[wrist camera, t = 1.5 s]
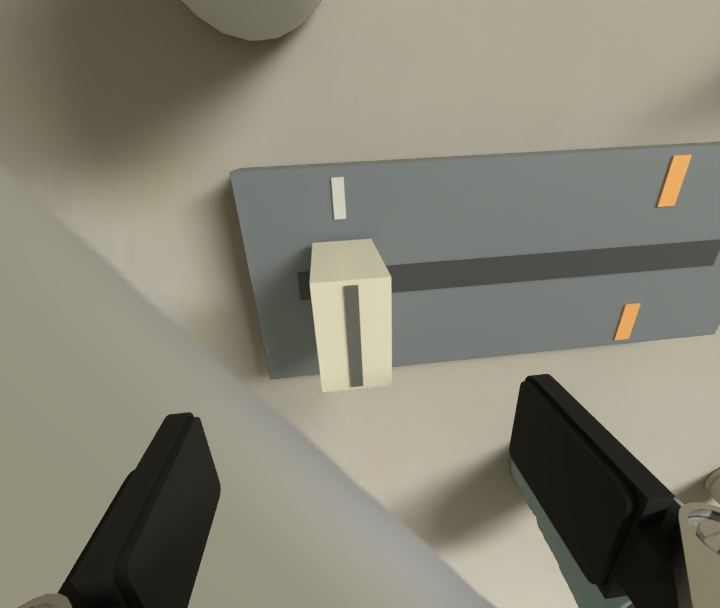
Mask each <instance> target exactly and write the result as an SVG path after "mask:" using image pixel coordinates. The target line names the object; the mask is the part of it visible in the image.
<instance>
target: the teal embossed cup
mask: <svg viewBox="0 0 720 608" xmlns="http://www.w3.org/2000/svg"><path fill="white" fill-rule="evenodd" d="M510 462H511V463H510V465H511V472H512V475H513V478H514V480H515V482H516V484H517V485H518V487H519V489H520V490H521V493H522V495H523V496H524V498H525V500H526V502H527V504H528V506H529V508H530V509H531V510H532V511H533V514H534V515H535V516H536V518H537V524H538V527H539V529H540V530H541V532H542V534H543V536H544V539H545V540H546V542H547V544H548V545H549V547H550V549H551V551H552V552H553V554H554V556H555V558H556V560H557V562H558V564H559V568H560V571H561V573H562V575H563V577H564V578H565V580H566V582H567V584H568V586H569V588H570V590H571V592H572V594H573V596H574V599H575V601H576V603H577V605H578V607H579V608H635V606H634V605H633V604H632V602H631V601H630V599H629V598H628V596H622V597H616V598H610V599H605V598H604V596H603V595H602V593H601V592H600V590H599V589H598V587H597V586H596V584H592V583H590V582H589V581H588V580H587V579H586V577H585V576H584V574H583V573H582V571H581V569H580V568H579V566H578V565H577V563H576V561H575V560H574V558H573V557H572V555H571V553H570V552H569V550H568V549H567V547H566V545H565V544H564V542H563V541H562V539H561V537H560V536H559V534H558V532H557V531H556V529H555V528H554V526H553V524H552V523H551V521H550V520H549V518H548V516H547V515H546V513H545V512H544V510H543V508H542V507H541V505H540V504H539V502H538V500H537V499H536V497H535V496H534V494H533V492H532V491H531V489H530V488H529V486H528V484H527V483H526V481H525V480H524V478H523V476H522V475H521V473H520V472H519V470H518V468H517V467H516V465H515V463H514V462H513V460H512V458H511V460H510ZM674 500H675V501H676V502H677V503H678V504H680V505H681V506H683V505H684V504H683V503H682V502H681V501H679V500H678V499H677V498H675V497H674Z"/></svg>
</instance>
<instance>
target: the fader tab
mask: <svg viewBox="0 0 720 608" xmlns="http://www.w3.org/2000/svg"><path fill="white" fill-rule="evenodd" d="M310 292H311V300H312V309H313V317H314V326H315V334H316V343H317V351H318V360H319V368H320V377H321V385H322V393H323V392H332V391H342V390H351V389H361V388H370V387H380V386H389V385H392V290H391V275H390V273H389V271H388V269H387V268H386V266H385V264H384V262H383V260H382V258H381V256H380V254H379V252H378V250H377V248H376V247H375V245H374V243H373V241H372V239H359V240H345V241H331V242H317V243H312V256H311V270H310Z"/></svg>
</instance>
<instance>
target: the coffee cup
mask: <svg viewBox="0 0 720 608" xmlns="http://www.w3.org/2000/svg"><path fill="white" fill-rule="evenodd" d="M705 489H706V490H707V491H708V492H709V493H710V494H711V496H712V497H713V498H714V499H715V500H716V501H717V502H718V503H719V504H720V468H719V469H717V470H716V471H714V472H713V473H712V474H711V475H710V476H709V477H708V479H707V480H706V482H705Z"/></svg>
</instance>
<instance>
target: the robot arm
mask: <svg viewBox="0 0 720 608" xmlns="http://www.w3.org/2000/svg"><path fill="white" fill-rule="evenodd" d="M509 450H510V455H511V458H512V460H513V462H514V463H515V465H516V467H517V468H518V470H519V472H520V473H521V475H522V476H523V478H524V480H525V481H526V483H527V484H528V486H529V488H530V489H531V491H532V492H533V494H534V496H535V497H536V499H537V500H538V502H539V504H540V505H541V507H542V508H543V510H544V512H545V513H546V515H547V516H548V518H549V520H550V521H551V523H552V524H553V526H554V528H555V529H556V531H557V532H558V534H559V536H560V537H561V539H562V541H563V542H564V544H565V545H566V547H567V549H568V550H569V552H570V553H571V555H572V557H573V558H574V560H575V561H576V563H577V565H578V566H579V568H580V569H581V571H582V573H583V574H584V576H585V577H586V579H587V580H588V581H589V582H590V583H592V584H596V586H597V587H598V589H599V590H600V592H601V593H602V595H603V596H604V598H605V599H610V598H616V597H622V596H628V598H629V599H630V601H631V602H632V604H633V605H634V606H635V608H720V508H719V507H717V506H713V505H710V504H706V503H698V502H691V503H687V504H684V505H683V506H681V505H680V504H678V503H677V502H676V501H675V500H674V497H675V495H673V494H672V493H671V492H670V491H669V490H668V489H667V488H666V487H665V486H664V485H663V484H662V483H661V482H660V481H659V480H658V479H657V478H656V477H655V476H654V475H653V474H652V473H651V472H650V471H649V470H648V469H647V468H646V467H645V466H644V465H643V464H642V463H640V462H639V461H638V460H637V459H636V458H635V457H634V456H633V455H632V454H631V453H630V452H629V451H628V450H627V449H626V448H625V447H624V446H623V445H622V444H621V443H620V442H619V441H618V440H617V439H616V438H615V437H614V436H613V435H612V434H611V433H610V432H609V431H608V430H606V429H605V428H604V427H603V426H602V425H601V424H600V423H599V422H598V421H597V420H596V419H595V418H594V417H593V416H592V415H591V414H590V413H589V412H588V411H587V410H586V409H585V408H584V407H583V406H582V405H581V404H580V403H579V402H578V401H577V400H576V399H575V398H574V397H572V396H571V395H570V394H569V393H568V392H567V391H566V390H565V389H564V388H563V387H562V386H561V385H560V384H559V383H558V382H557V381H556V380H555V379H554V378H553V377H552V376H550V375H549V374H542V375H532V376H527V378H526V379H525V381H524V382H522V383H521V385H520V390H519V396H518V401H517V407H516V413H515V418H514V424H513V430H512V435H511V441H510V447H509ZM219 497H220V482H219V478H218V475H217V472H216V469H215V465H214V462H213V459H212V456H211V452H210V449H209V446H208V443H207V439H206V436H205V433H204V430H203V426H202V423H201V420H200V418H199V417H194V416H193V414H192V413H190V412H188V413H179V414H169V415H168V416H166V418H165V419H164V421H163V423H162V424H161V426H160V428H159V429H158V431H157V433H156V435H155V436H154V438H153V440H152V442H151V443H150V445H149V447H148V448H147V450H146V452H145V453H144V455H143V457H142V459H141V460H140V462H139V464H138V466H137V467H136V469H135V470H133V471H132V472H131V473H130V474H129V475H128V476H127V478H126V479H125V481H124V482H123V484H122V486H121V487H120V489H119V491H118V492H117V494H116V496H115V498H114V499H113V501H112V503H111V504H110V506H109V508H108V509H107V511H106V513H105V515H104V516H103V518H102V520H101V521H100V523H99V524H98V526H97V528H96V529H95V531H94V533H93V534H92V537H91V538H90V540H89V541H88V543H87V545H86V546H85V548H84V550H83V551H82V553H81V555H80V556H79V558H78V560H77V561H76V563H75V565H74V566H73V568H72V570H71V571H70V573H69V575H68V576H67V578H66V580H65V582H64V583H63V585H62V587H61V588H60V590H59V592H58V593H57V594H46V595H43V596H40V597H37V598H34V599H32V600H30V601H28V602H26V603H25V604H23V605H21V606H19V607H18V608H187V607H188V604H189V600H190V597H191V594H192V590H193V587H194V583H195V580H196V576H197V573H198V570H199V566H200V563H201V559H202V556H203V552H204V549H205V546H206V542H207V539H208V535H209V531H210V528H211V525H212V521H213V518H214V515H215V511H216V508H217V504H218V501H219Z"/></svg>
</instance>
